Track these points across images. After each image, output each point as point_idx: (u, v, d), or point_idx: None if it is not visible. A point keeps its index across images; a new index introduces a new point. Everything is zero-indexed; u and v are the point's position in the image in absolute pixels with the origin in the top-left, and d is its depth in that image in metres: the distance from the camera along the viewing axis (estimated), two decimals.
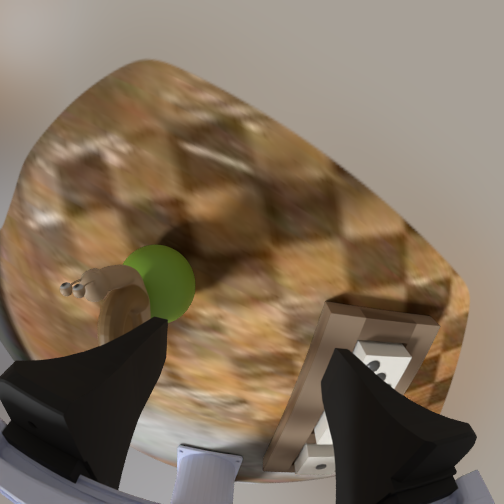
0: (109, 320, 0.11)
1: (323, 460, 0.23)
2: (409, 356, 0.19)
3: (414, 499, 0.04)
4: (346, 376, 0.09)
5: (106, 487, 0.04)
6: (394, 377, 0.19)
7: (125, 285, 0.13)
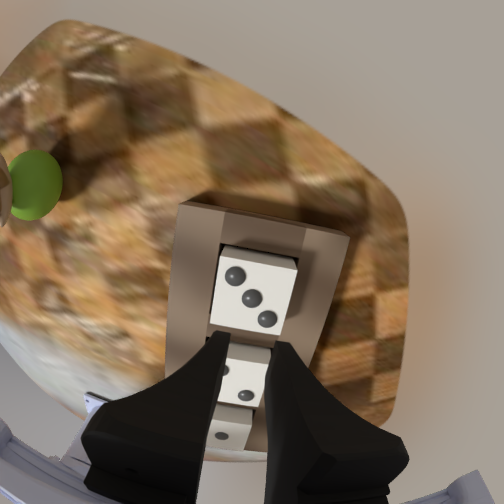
0: None
1: (220, 426, 0.20)
2: (293, 268, 0.16)
3: None
4: (279, 370, 0.09)
5: None
6: (277, 300, 0.17)
7: None
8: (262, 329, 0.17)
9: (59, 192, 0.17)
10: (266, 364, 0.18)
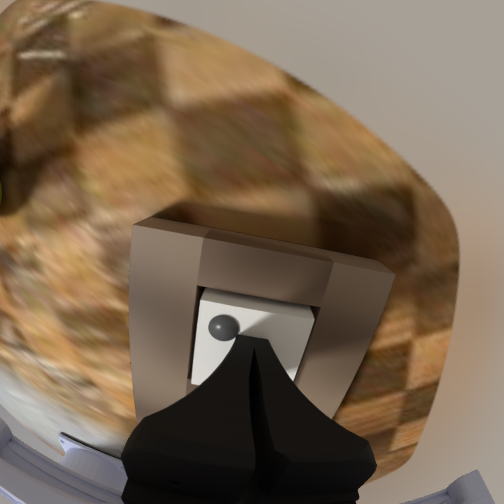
0: None
1: None
2: (308, 317, 0.11)
3: None
4: (253, 366, 0.09)
5: (106, 487, 0.04)
6: (284, 359, 0.11)
7: None
8: None
9: None
10: None
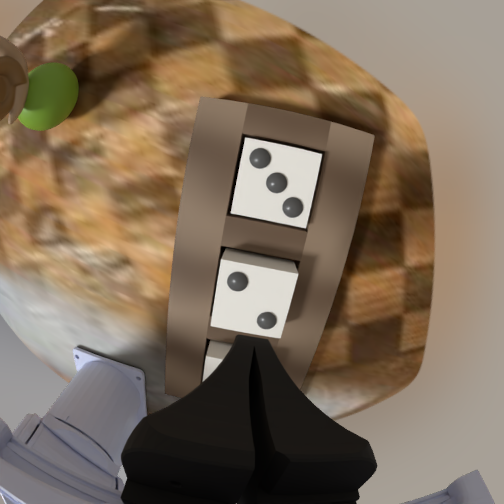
0: None
1: None
2: (317, 153, 0.15)
3: None
4: (253, 366, 0.09)
5: (106, 487, 0.04)
6: (302, 186, 0.16)
7: (9, 56, 0.08)
8: (286, 220, 0.16)
9: (74, 101, 0.15)
10: (292, 273, 0.16)
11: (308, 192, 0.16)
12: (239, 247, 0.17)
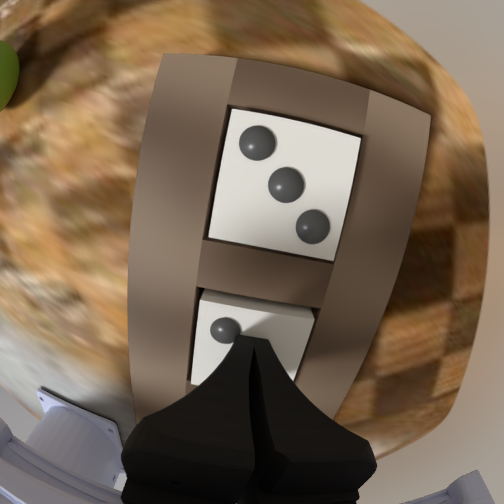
0: None
1: None
2: (353, 137, 0.09)
3: None
4: (253, 367, 0.09)
5: (106, 487, 0.04)
6: (330, 191, 0.09)
7: None
8: (302, 249, 0.10)
9: (9, 85, 0.08)
10: (306, 318, 0.11)
11: (339, 201, 0.09)
12: (225, 289, 0.11)
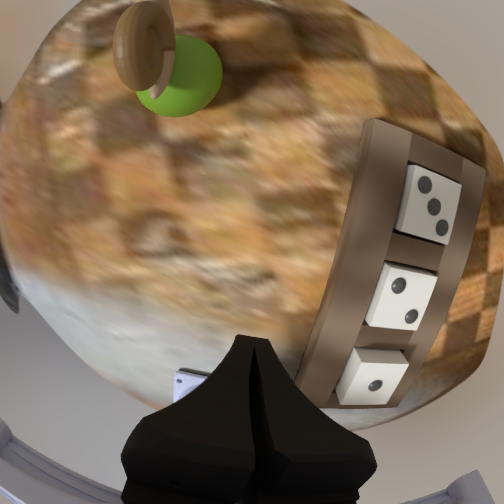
0: (141, 3, 0.07)
1: (380, 371, 0.18)
2: (458, 184, 0.15)
3: None
4: (254, 367, 0.09)
5: (106, 487, 0.04)
6: (449, 210, 0.16)
7: None
8: (437, 238, 0.16)
9: None
10: (434, 276, 0.17)
11: (452, 215, 0.16)
12: (398, 261, 0.18)
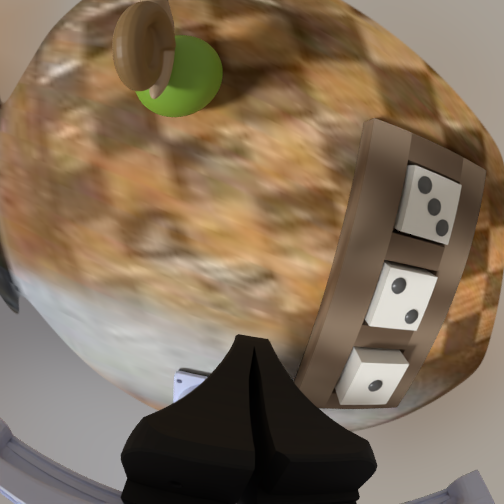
0: (141, 3, 0.07)
1: (380, 371, 0.18)
2: (458, 184, 0.15)
3: None
4: (254, 366, 0.09)
5: (106, 487, 0.04)
6: (449, 210, 0.16)
7: None
8: (437, 238, 0.16)
9: None
10: (434, 277, 0.17)
11: (452, 215, 0.16)
12: (398, 261, 0.18)
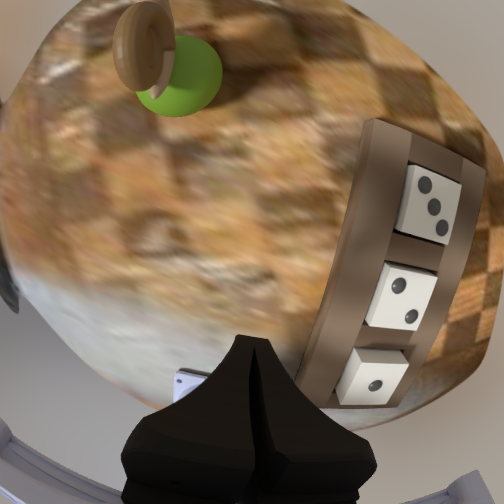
0: (141, 3, 0.07)
1: (380, 371, 0.18)
2: (458, 184, 0.15)
3: None
4: (254, 366, 0.09)
5: (106, 487, 0.04)
6: (449, 210, 0.16)
7: None
8: (437, 238, 0.16)
9: (218, 89, 0.15)
10: (434, 277, 0.17)
11: (452, 215, 0.16)
12: (398, 261, 0.18)
